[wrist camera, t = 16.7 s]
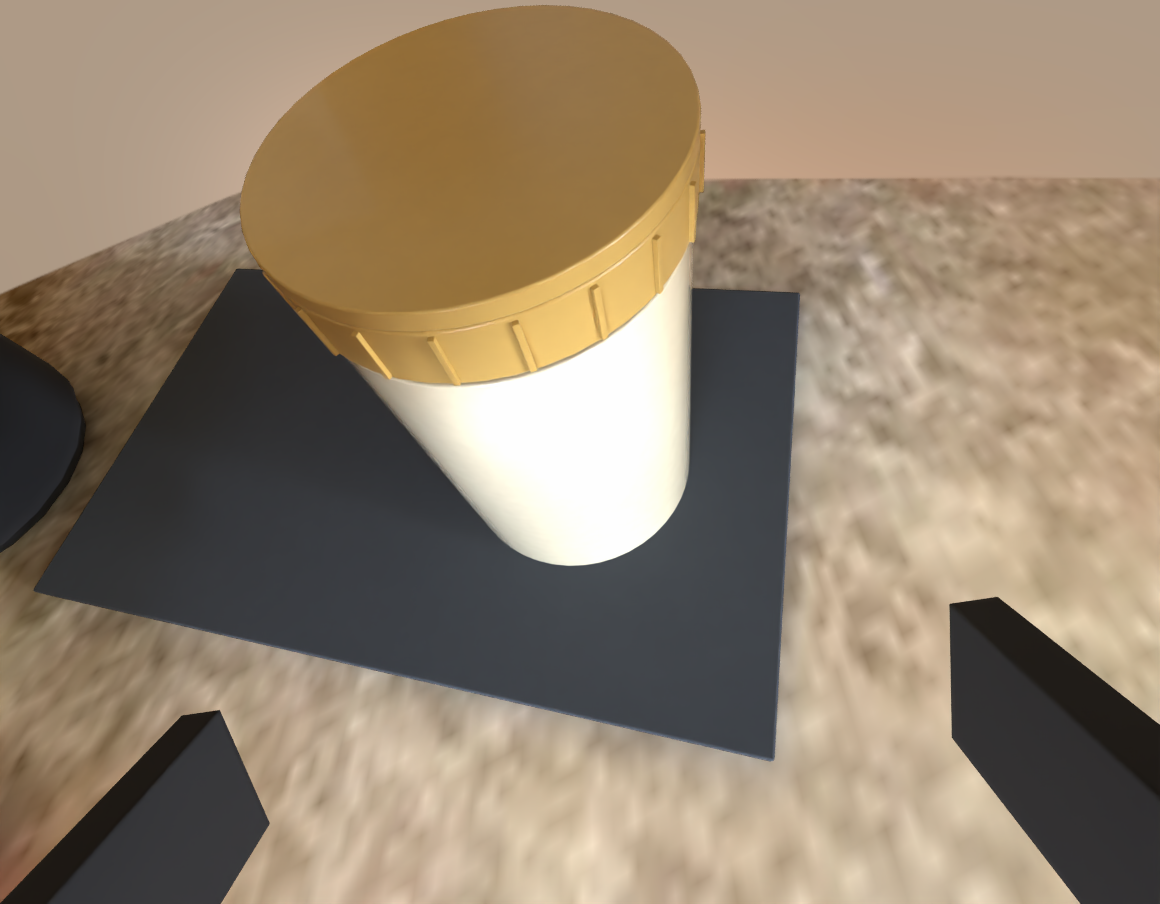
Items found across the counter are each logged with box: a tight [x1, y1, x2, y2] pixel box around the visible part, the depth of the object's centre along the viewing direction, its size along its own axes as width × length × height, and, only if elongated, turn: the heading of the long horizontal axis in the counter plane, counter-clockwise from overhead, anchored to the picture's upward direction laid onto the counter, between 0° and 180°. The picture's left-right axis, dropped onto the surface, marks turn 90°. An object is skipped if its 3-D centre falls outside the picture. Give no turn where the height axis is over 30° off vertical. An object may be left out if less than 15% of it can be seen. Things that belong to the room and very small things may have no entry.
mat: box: [34, 269, 800, 761], centre depth 22 cm, size 26×16×1 cm, turn 78°
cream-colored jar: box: [345, 242, 693, 566], centre depth 15 cm, size 8×8×11 cm
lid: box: [240, 5, 705, 386], centre depth 10 cm, size 8×8×2 cm
